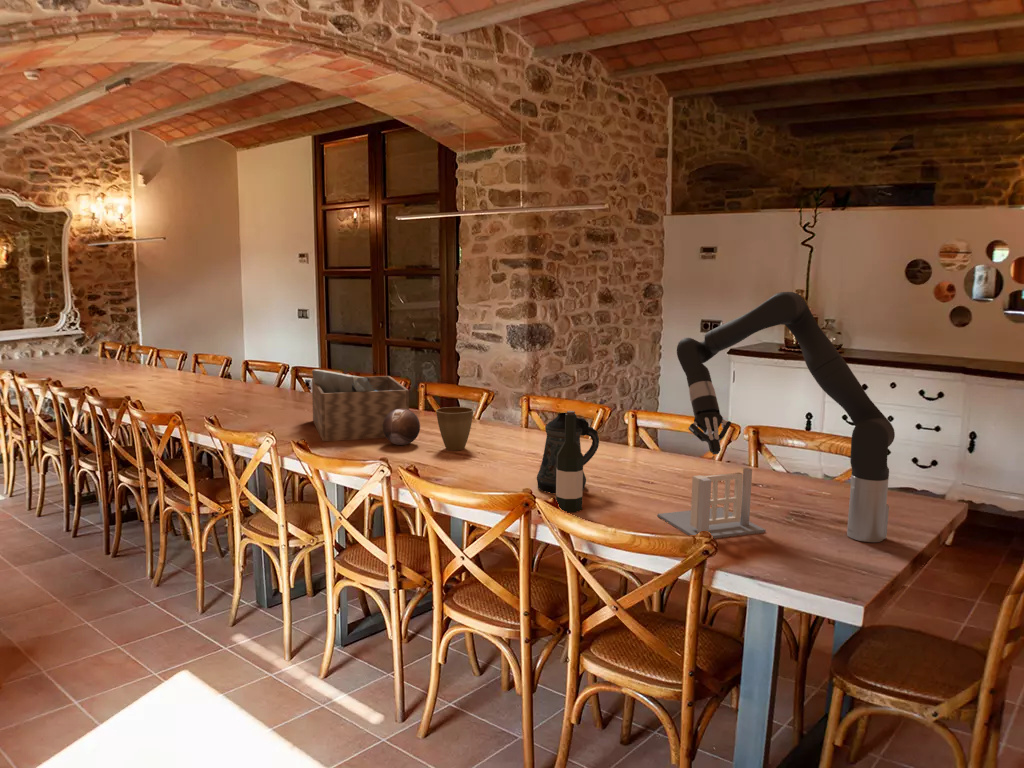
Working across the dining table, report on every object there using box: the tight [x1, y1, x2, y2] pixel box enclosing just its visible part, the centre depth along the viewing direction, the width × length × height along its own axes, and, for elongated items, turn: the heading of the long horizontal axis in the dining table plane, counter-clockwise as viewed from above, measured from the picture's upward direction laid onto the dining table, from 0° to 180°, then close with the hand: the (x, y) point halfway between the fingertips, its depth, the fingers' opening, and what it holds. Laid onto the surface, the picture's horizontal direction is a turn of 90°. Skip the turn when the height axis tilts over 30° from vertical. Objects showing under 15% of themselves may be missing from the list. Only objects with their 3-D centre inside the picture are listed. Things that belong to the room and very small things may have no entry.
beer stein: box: [536, 412, 600, 494], centre depth 259 cm, size 16×19×25 cm
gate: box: [690, 472, 743, 528], centre depth 218 cm, size 15×3×14 cm, turn 110°
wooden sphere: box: [383, 408, 421, 446], centre depth 319 cm, size 15×15×15 cm
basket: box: [311, 368, 391, 393], centre depth 350 cm, size 40×31×28 cm
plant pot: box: [435, 406, 474, 452], centre depth 313 cm, size 15×15×16 cm
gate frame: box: [657, 467, 766, 539], centre depth 223 cm, size 22×22×17 cm
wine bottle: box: [555, 410, 584, 513], centre depth 236 cm, size 8×8×30 cm
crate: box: [311, 375, 410, 442], centre depth 350 cm, size 36×45×20 cm
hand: (716, 453), depth 227 cm, fingers closed
